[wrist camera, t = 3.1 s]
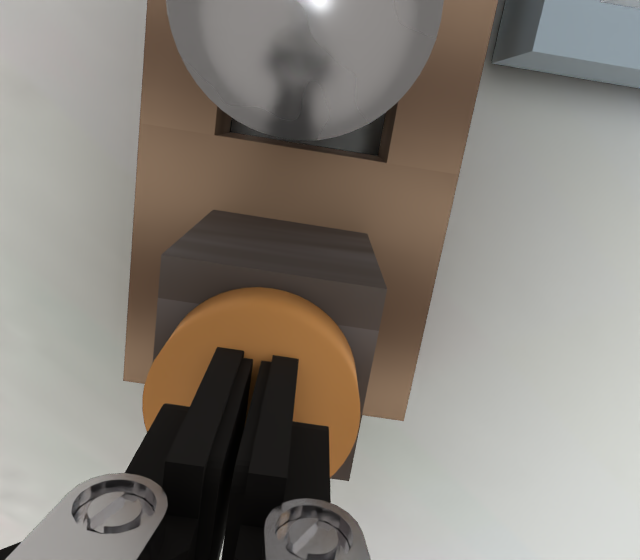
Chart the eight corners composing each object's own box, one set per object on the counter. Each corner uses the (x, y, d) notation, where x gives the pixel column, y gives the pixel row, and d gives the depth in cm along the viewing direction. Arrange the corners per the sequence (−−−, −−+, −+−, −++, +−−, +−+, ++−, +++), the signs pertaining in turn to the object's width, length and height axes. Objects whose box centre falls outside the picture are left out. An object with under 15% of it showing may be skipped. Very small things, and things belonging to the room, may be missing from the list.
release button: (220, 221, 18) (150, 294, 11) (356, 242, 18) (378, 328, 11) (206, 348, 19) (136, 489, 12) (334, 366, 19) (340, 517, 12)
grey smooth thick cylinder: (266, -8, 19) (177, -193, 7) (383, 12, 19) (472, -139, 8) (251, 115, 20) (155, 118, 9) (362, 132, 20) (413, 159, 9)
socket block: (183, -108, 18) (56, -310, 9) (487, -55, 18) (630, -201, 10) (148, 346, 23) (40, 490, 14) (393, 382, 23) (435, 544, 14)
